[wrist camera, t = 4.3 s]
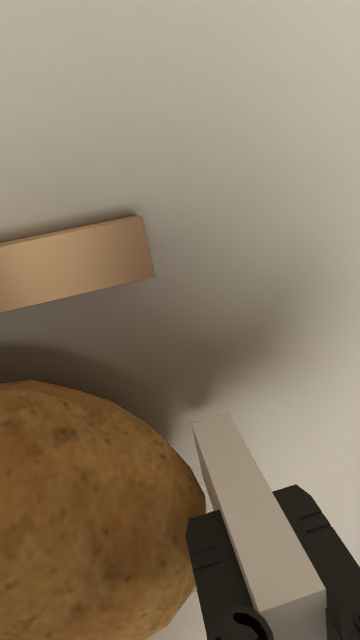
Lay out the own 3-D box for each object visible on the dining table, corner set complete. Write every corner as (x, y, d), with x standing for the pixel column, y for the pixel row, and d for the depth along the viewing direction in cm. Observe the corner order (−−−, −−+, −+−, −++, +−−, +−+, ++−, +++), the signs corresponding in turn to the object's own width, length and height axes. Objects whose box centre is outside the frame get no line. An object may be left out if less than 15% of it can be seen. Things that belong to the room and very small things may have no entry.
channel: (-39, 607, 19) (-66, 678, 16) (-244, 294, 12) (-348, 320, 10) (207, 529, 20) (222, 581, 17) (136, 214, 14) (141, 217, 11)
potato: (-144, 321, 13) (-476, 471, 6) (199, 363, 17) (269, 494, 9) (-134, 517, 16) (-352, 792, 8) (160, 520, 19) (189, 719, 12)
